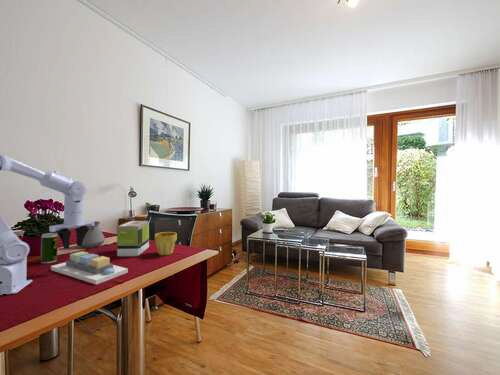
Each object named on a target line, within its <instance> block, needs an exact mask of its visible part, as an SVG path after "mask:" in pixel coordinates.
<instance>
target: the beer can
mask: <svg viewBox="0 0 500 375" xmlns="http://www.w3.org/2000/svg"><path fill="white" fill-rule="evenodd" d="M58 237H59V235H58V234H57V232H47V233H43V234H41V237H40V239H41V240H40V263H41V264H43V265H44V264H45V265H47V264H51V263H55V262H57V260H58V251H59V250H58V246H59V242H58V241H59V238H58Z"/></svg>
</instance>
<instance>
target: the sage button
mask: <svg viewBox="0 0 500 375" xmlns="http://www.w3.org/2000/svg"><path fill="white" fill-rule="evenodd" d="M88 254H90V253H89V252H86V251H77V252H73V253H70V254H69V260H70V261H72V262H80V257H81V256H85V255H88Z"/></svg>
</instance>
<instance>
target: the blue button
mask: <svg viewBox="0 0 500 375" xmlns="http://www.w3.org/2000/svg"><path fill="white" fill-rule="evenodd" d="M97 257H100V255H99V254H94V253H89V254H88V255H85V256H81V257H80V264H83V265H90V259H93V258H97Z"/></svg>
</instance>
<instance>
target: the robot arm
mask: <svg viewBox="0 0 500 375" xmlns="http://www.w3.org/2000/svg"><path fill="white" fill-rule="evenodd" d="M0 171H10V172H13V173H15V174H18V175H21V176H25V177H28V178H31V179H33V180H36V181H38V182H39V184H40V186H42V187H45V188H48V189H51V190H54V191H56V192H59V193H62V194H63V195H64V204H63V206H64V207H63V210H64V211H63V223H59V224H56V225H54V224H53V225H49V226H48V228H49V229H48V230H49V233H57V235H58V237H59V239H60V240H61V243H62V246H63V249H64V250H65V249H66V250H68V249H70V238H71V234H72V231H71V230H72V229H73V230H75V235H76V246H77V247H83V246H82V243H83V240H84V237H85V235H86V233H87V232H88V231H89V227H87V226H94V222H95V220H87V221H83V217H84V216H83V215H84V210H83V209H84V195H85V194H86V192H87V188H86V186H85V184H84V183H83V182H81V181H74V180H73V177H67V176H64V175H61V174H60V172H58V171H57V170H56V171H51V170H49V171H45V172H44V171H41V170H39V169H37V168H34V167H33V166H30V165H28V164H26V163H23V162H20V161H19V160H16V159H14V158H11V157H8V156H6V155H4V154H0ZM70 229H71V230H70ZM30 251H31V250H30V246H29V244H28V243H26V242H25V241H22V240H21V239H20V238H19V236H17V235H16V234H15V233H14V231H12V229H11V228H10V226H9V225H8V223H6V221H5V220H4V218H3V216H2V215H1V214H0V296H4V295H3V294H6V295H11V294H13V295H14V294H17V293H18V292H20V291H21V290H22V289H24V288H25V287H27V286H28V285H29V284H31V283H32V282H33V279H27V272H28V270H27V266H28V263H27V262H28V260H27V259H28V258H27V257H28V255H29V253H30Z"/></svg>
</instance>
